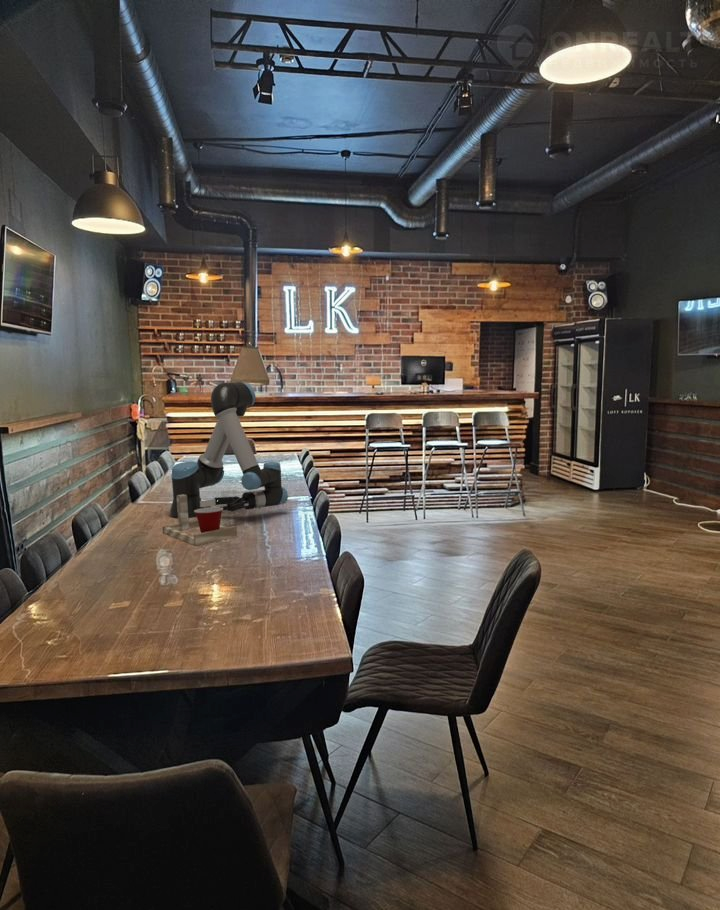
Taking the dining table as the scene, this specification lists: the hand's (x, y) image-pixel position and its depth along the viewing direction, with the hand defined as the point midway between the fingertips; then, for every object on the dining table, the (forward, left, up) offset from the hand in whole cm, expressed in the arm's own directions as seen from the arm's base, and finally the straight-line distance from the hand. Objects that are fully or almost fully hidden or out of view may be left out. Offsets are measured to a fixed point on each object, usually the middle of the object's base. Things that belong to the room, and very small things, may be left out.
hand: (205, 506), depth 243 cm
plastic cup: (+20, -9, -8) cm, 23 cm away
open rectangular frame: (+11, -9, -8) cm, 16 cm away
